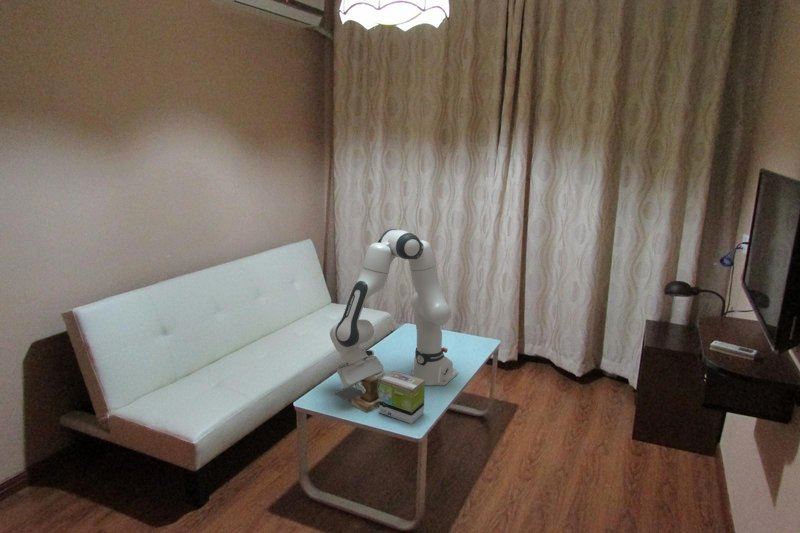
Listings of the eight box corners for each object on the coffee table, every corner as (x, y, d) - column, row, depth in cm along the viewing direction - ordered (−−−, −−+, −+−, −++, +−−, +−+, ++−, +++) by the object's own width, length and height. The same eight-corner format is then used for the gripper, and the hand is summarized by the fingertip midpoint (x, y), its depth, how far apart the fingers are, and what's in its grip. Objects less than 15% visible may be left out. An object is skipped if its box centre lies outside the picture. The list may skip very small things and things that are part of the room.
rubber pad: (351, 387, 224) (351, 385, 224) (365, 394, 218) (365, 392, 218) (335, 394, 218) (335, 392, 217) (350, 401, 212) (350, 400, 212)
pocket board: (372, 394, 218) (372, 389, 217) (388, 402, 212) (388, 396, 211) (351, 404, 209) (351, 399, 208) (367, 412, 203) (367, 407, 203)
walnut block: (370, 399, 213) (370, 375, 211) (377, 403, 211) (377, 378, 208) (362, 403, 210) (362, 378, 208) (369, 407, 207) (370, 382, 205)
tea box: (378, 413, 203) (378, 378, 199) (392, 403, 211) (392, 369, 208) (411, 425, 195) (412, 388, 192) (424, 413, 204) (425, 378, 200)
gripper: (338, 363, 203) (355, 395, 199) (375, 349, 218) (392, 378, 214) (331, 371, 207) (348, 401, 203) (368, 356, 222) (384, 384, 218)
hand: (371, 389), depth 209 cm, fingers open, 5 cm apart
